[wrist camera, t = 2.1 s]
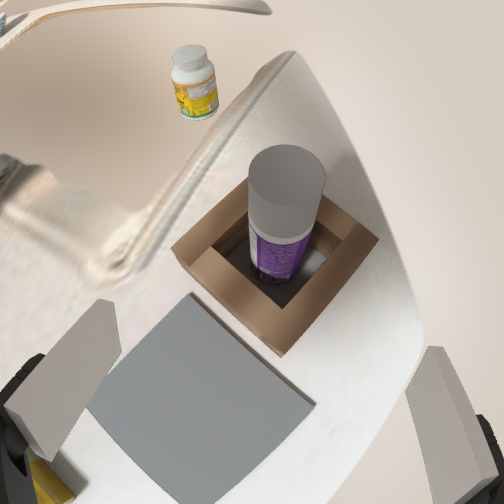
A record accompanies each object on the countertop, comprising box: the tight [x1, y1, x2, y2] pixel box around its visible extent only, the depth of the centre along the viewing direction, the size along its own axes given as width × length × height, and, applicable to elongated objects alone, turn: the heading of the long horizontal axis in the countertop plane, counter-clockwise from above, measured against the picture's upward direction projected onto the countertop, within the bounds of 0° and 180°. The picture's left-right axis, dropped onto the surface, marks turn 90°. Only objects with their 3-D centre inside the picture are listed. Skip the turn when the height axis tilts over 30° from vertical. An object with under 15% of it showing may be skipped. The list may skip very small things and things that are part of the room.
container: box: [248, 145, 325, 286], centre depth 25 cm, size 5×5×15 cm
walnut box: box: [171, 176, 379, 358], centre depth 30 cm, size 13×13×5 cm
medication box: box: [26, 446, 76, 504], centre depth 22 cm, size 12×3×4 cm, turn 52°
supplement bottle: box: [171, 45, 219, 121], centre depth 36 cm, size 5×5×10 cm
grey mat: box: [86, 294, 315, 504], centre depth 26 cm, size 16×16×1 cm
